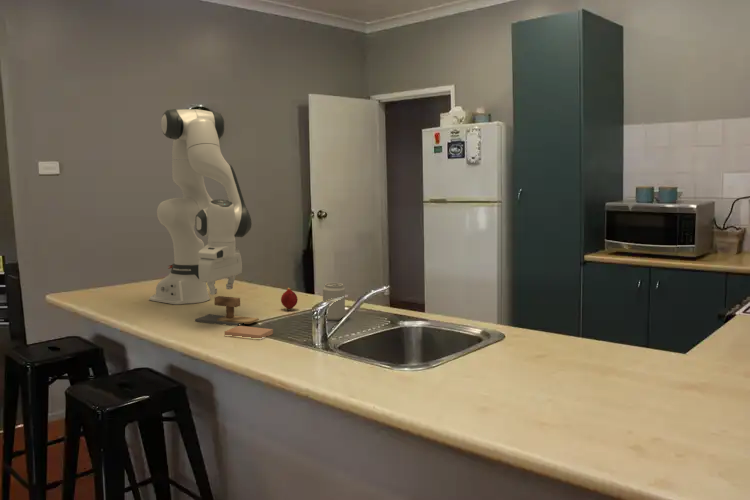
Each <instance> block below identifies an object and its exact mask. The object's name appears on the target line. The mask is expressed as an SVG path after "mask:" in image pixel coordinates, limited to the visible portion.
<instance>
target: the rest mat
mask: <svg viewBox="0 0 750 500" xmlns="http://www.w3.org/2000/svg"><path fill="white" fill-rule="evenodd" d="M223 316H224V315H220V314H212V313H209V314H205V315H202V316H200V317H197V318H195V319H194V322H195V323H196V322H197V323H204V324H214V323H216V324H215V325H223V324H226V325H225V326H232V325H239V324H241V325H243V324H242V323H235V322H226V321H217V319H218V318H221V317H223ZM239 326H240V325H239Z"/></svg>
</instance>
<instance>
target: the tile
mask: <svg viewBox="0 0 750 500" xmlns="http://www.w3.org/2000/svg"><path fill="white" fill-rule="evenodd" d="M273 334H274V329H273V328H267V327H266V328H265V327H255V326H245V325H239V326H233V327H232V328H230V329H227V330H225V331H224V336H225V335H232V336H242V337H251V338H262V337H266V336H268V337H269V336H272V335H273ZM266 338H267V337H266Z"/></svg>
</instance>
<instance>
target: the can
mask: <svg viewBox="0 0 750 500" xmlns="http://www.w3.org/2000/svg"><path fill="white" fill-rule="evenodd" d="M342 296H344V298H343V299H341V300H338V301H336V302H334V303H333V304H332V305H331V306H330V308H329V311H328V316H327V321H333V322H335V321H341V320H342V319H341V318H342V317H343V316H344V315H345V313H346V312H345V311H346V308H345V307H346V288H345V286H344V284H343V283H341V282H326V283H325V284H324V287H322V302H323V301H326V300H328V299H331V298H337V297H342ZM345 316H346V315H345ZM343 318H344V317H343ZM340 319H341V320H340Z"/></svg>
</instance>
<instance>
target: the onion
mask: <svg viewBox="0 0 750 500" xmlns="http://www.w3.org/2000/svg"><path fill="white" fill-rule="evenodd" d="M280 302H281V304H282V306H283V307H284V308H285V309H287V310H288V309H290V310H292V309H293V308H294V307H295V306H297V304H298V296H297V294H296V292H295V291H293V289H291V288H290V287H287V289H286V291H284V292H283V294H282V295H281V297H280Z"/></svg>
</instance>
